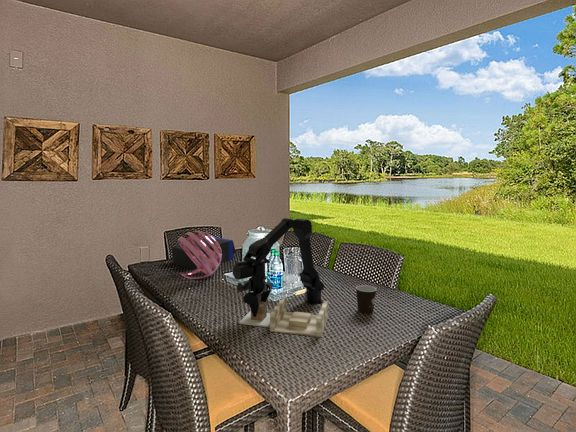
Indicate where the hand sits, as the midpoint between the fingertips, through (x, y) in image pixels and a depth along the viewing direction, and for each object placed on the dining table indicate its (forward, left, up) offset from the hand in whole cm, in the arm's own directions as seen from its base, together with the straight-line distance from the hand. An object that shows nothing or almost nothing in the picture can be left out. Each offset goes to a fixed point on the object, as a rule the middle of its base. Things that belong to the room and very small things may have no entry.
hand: (258, 312), depth 140 cm
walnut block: (0, 0, -2) cm, 2 cm away
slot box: (-14, +10, -3) cm, 18 cm away
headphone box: (+9, -106, -4) cm, 107 cm away
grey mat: (0, 0, -3) cm, 3 cm away
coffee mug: (-47, +7, -3) cm, 48 cm away
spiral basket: (+16, -71, -3) cm, 73 cm away
